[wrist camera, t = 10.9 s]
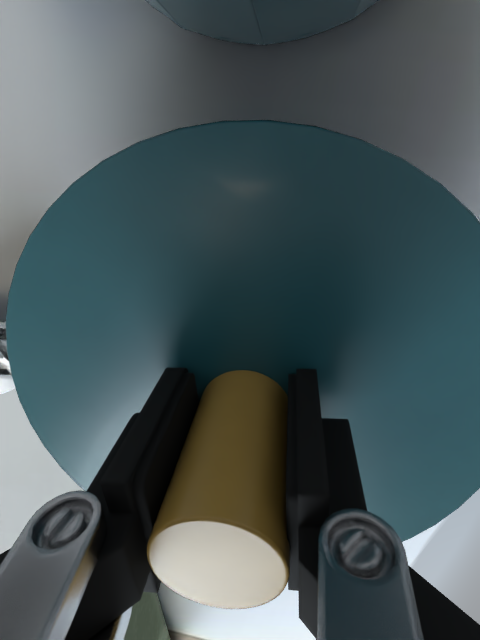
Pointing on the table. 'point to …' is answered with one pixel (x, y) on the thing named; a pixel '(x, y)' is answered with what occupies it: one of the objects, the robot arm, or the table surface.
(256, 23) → the teal cooking pot
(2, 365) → the white tied bag
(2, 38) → the table surface
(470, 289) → the lid
